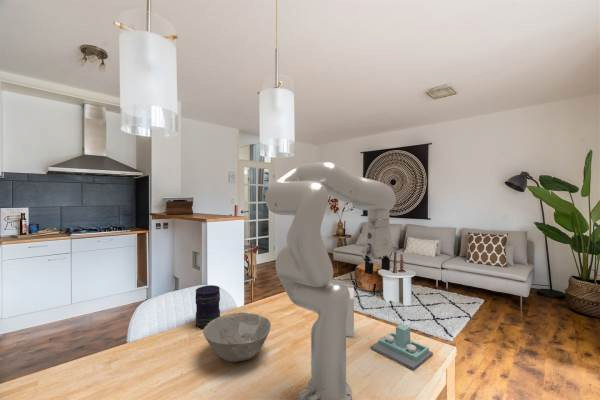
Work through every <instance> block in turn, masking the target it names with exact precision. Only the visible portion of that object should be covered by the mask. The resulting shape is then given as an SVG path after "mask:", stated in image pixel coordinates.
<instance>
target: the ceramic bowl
mask: <svg viewBox="0 0 600 400" xmlns="http://www.w3.org/2000/svg"><path fill="white" fill-rule="evenodd" d="M271 327H272V326H271V322H270V320H269V319H268V318H267V317H265V316H263V315H260V314H257V313H250V312H249V313H248V312H237V313H236V312H234V313H229V314H223V315H220V317H218V318H216V319H214V320H212V321H211V322H209V323H208V324H207V326H205V328H204V330H202V333H203V336H204V338H205V340H206V341H207V343H208V345H209V346H210V347H211V349H212V351H214V352H215V354H217V355H218V357H220V358H221V359H223V360H224V361H225V362H229V363H237V362H243V361H248V360H250V359H252V358H254V357H255V356H256V355H257V354H258V353H259V352H260V350H261V349H262V347H263V345H264V344H265V341H266V340H267V338H268V335H269V333H270V332H271Z"/></svg>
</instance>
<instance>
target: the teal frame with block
mask: <svg viewBox="0 0 600 400" xmlns="http://www.w3.org/2000/svg"><path fill="white" fill-rule="evenodd" d="M387 335H391V336H393V337H394V338H395V339H396V342H393V343H392V344H390V343H388V341H387V340H386V339H385V338H386V335H385V336H383V337H381V338H380V339H378V341H379V344H380V345H382V346H384V347H386V348H388V349H391V350H393V351H395V352H397V353H399V354H401V355H403V356H405V357H407V358H409V359H412V360H414V361H418V360H419V359H420V358H421V357H423V356H424V355H425V354H427V353H428V352H429V351H430V350H429V348H430V347H427V346H425V345H423V344H421V343H418V342H416V341H413V340H411V326H409V325H406V324H404V323H400V324H398V325H397V326H395V333H394V332H389V333H388V334H387ZM407 344H412V345H415V346H416V348H418V349H420V350H422V351H421V352H420V353H419V352H417V351H416V352H415V353H413V354H412V353H410V352H409V350H407V348H406V345H407Z"/></svg>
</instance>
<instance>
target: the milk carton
mask: <svg viewBox="0 0 600 400" xmlns="http://www.w3.org/2000/svg"><path fill="white" fill-rule="evenodd" d="M344 285H345V286H346V287H347V288H348V290H349V293H350V302H349V308H348V313H347V321H346V337H349V338H350V337H352V338H354V336H355V333H354V332H355V285H354V284H344Z"/></svg>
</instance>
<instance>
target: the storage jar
mask: <svg viewBox="0 0 600 400" xmlns="http://www.w3.org/2000/svg"><path fill="white" fill-rule="evenodd" d="M194 300H195V305H196V306H195V308H196V310H195V327H196V326H197V327H198V328H200V329H199V330H202V329H204V328H205V326H207V324H208V323H209V322H211V321H212V320H214V319H216V318H218V317H221V309H220V302H221V301H220V300H221V293H220V286H217V285H204V286H200V287H198V288H196V289H195V299H194ZM197 327H196V328H197ZM198 328H197V329H198Z"/></svg>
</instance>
